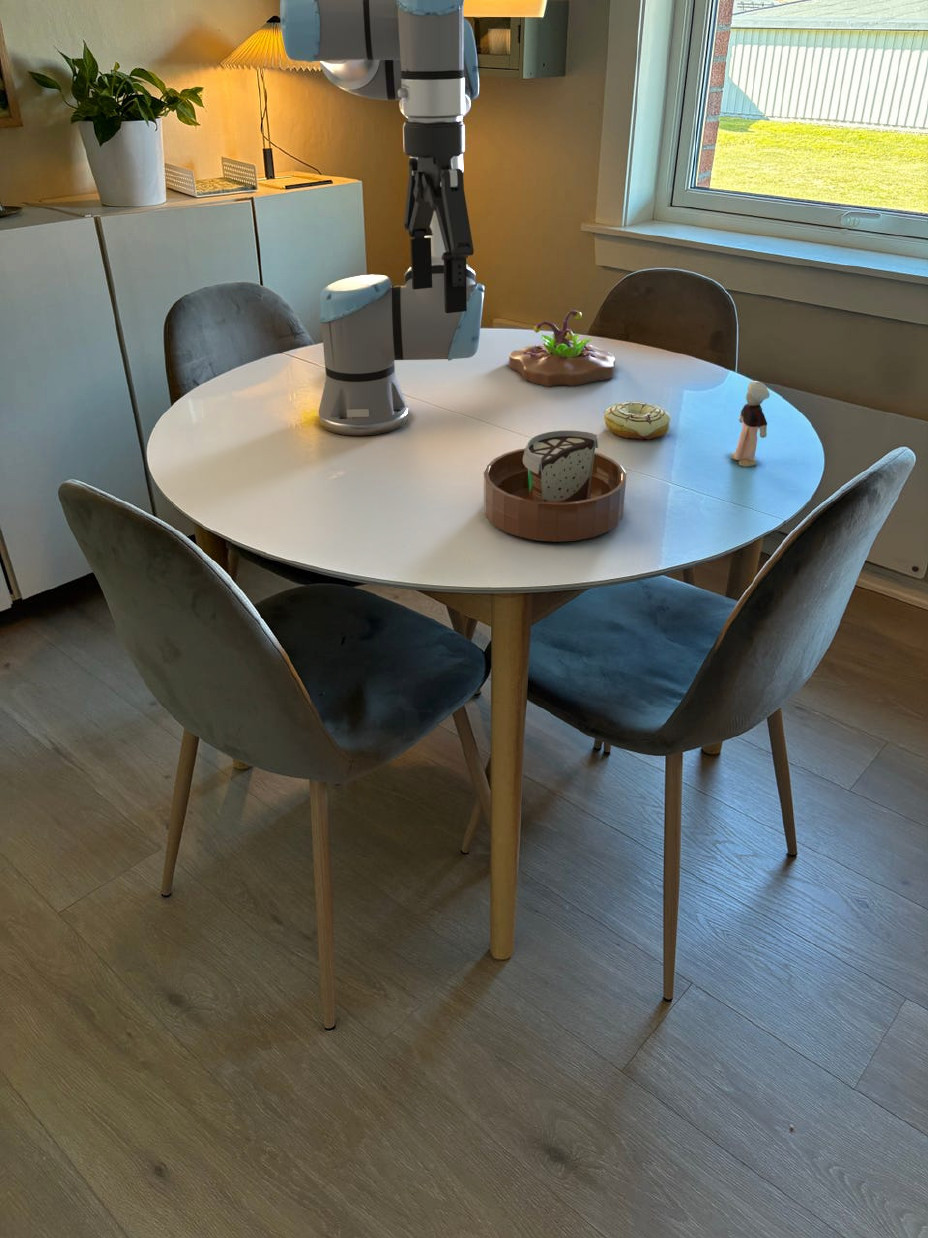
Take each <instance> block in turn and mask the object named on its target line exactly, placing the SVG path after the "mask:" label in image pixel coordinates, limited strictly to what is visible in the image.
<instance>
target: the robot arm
mask: <svg viewBox="0 0 928 1238" xmlns="http://www.w3.org/2000/svg"><path fill="white" fill-rule="evenodd" d="M279 3H280V4H279V17H280V28H281V29H280V30H281V36H282V42H283V43H282V44H283V47H284V52H285V54H286V57H288V58H289V59H290V60H291V61H295V62H307V63H313V62H314V63H315V62H318V63H319V66H320V69H321V70H322V73H323V74H324V76H325V77H326V78H327V79H328V81H330V82H331V84H333V85H334V86H336V87H337V88H339V89H341V90H343V91H345V92H348V93H350V94H353V95H356V96H358V97H363V98H366V99H371V100H376V101H377V100H379V101H399V105H398V106H399V111H400V112H401V113H402V115H403V116H404V117H405V118H407V120H406V121H404V123H403V124H402V139H403V152H404V155H406V156H407V157H409V159H408V182H407V192H406V203H405V212H404V221H403V228H404V230H405V231H407V234H408V237H409V238H410V239H409V240H410V241H409V242H410V244H409V245H410V264H411V266H410V267H409V268H408V269H407V271H405V273H404V285H392V281H391V279H390V277H389V276H387V275H383V274H363V275H357V276H352V277H347V278H344V279H340V280H337V281H335V282H333V283H331V284H329V285H327V286H326V287H324V288H323V290H322V291H321V292H320V295H319V318H318V319H319V322H320V326H321V335H322V346H323V347H322V348H323V359H324V368H325V382H324V386H323V391H322V394H321V399H320V403H319V408H318V421H319V424H320V427H322V428H323V429H325V430H326V431H329V432H331V433H335V434H340V435H344V436H372V435H379V434H384V433H388V432H392V431H395V430H397V429H399V428H401V427H402V426H404V425H405V424H406V423H407V422H408V420H409V408H408V407H409V406H408V404H407V402H406V399H405V397H404V396H405V395H404V393H403V391H402V388H401V387H400V384H399V381H398V378H397V376H396V375H397V374H396V366H395V364H396V363H395V361H430V360H431V361H432V360H436V361H437V360H447V361H453V360H458V359H459V360H461V359H469V358H472V357H473V356H475V355H476V354H477V353H478V350H479V343H480V336H481V335H480V334H481V328H482V327H481V326H482V317H483V310H484V309H483V308H484V307H483V306H484V297H485V286H484V284H481V283H480V282H476V272H475V270H473V269H472V267H470V266H469V265H468V264H467V259H468V257H471V256H473V255H474V253H475V249H474V244H473V238H472V231H471V225H470V220H469V214H468V213H469V212H468V206H467V199H466V193H465V185H464V184H465V183H464V182H465V181H464V153H465V151H466V134H465V133H466V127H465V125H466V124H465V123H464V121H463V118H464V117H465V116H466V115H468V113H469V111H470V109H471V107H472V105H471V104H472V103H471V101H473V100H475V99H477V98H478V97H479V93H480V77H479V68H478V55H477V46H476V39H475V35H474V31H473V28H472V25H471V23H470V21H469V20H468V19H467V18H465V17H464V4H465V0H280V2H279Z"/></svg>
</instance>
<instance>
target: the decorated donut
mask: <svg viewBox="0 0 928 1238" xmlns="http://www.w3.org/2000/svg"><path fill="white" fill-rule="evenodd" d="M603 420H604V422H605V426H606V427H607V429H608V430H609V432H611V433H613V434H614V435H617V436H618V437H621V438H622V437H623V438H624V439H639V440H644V439H646V440H651V439H655V438H659V437H660V436H664V435H666V434H667V433H668V431H669V428H670V421H671V415H670V414H669V412H667V410H665V409H664V408H663V407H662V406H659V405H656V404H651V403H648V402H643V401H623V402H617V403H615V404H612V405H610V407H608V408H607V409H606V410H605V412H604V416H603Z"/></svg>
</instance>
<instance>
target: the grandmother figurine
mask: <svg viewBox="0 0 928 1238" xmlns="http://www.w3.org/2000/svg"><path fill="white" fill-rule="evenodd" d="M745 395H746V396H745V400H746V404H744V405H743V407H742V409H741V411H740V415H739V419H738V421H739V423H741V424H742V427H741V428H742V429H741V432H740V435H739V439H738V441H737V445H736V448H735V452H733V453H732V454H731V455H730V458H731V459H732V460H734V461H738V464H739V465H740V466H741V467H745V468H748V467H754V466H756V465H757V464H758V463H757V460H755V456H756V451H757V444H758V431H759V437H760V438H761V439H764V438H766V437H767V430H768V429H767V426H768V422H767V419H766V416H765V414H764V412H763V408H762V403H763V402H764V401H765V400H767V399H769V398H770V395H771V394H770V391H769V390H768V387H767V386H766V384H765V383H763V382H761V381H757V380H752V381H751V382H749V383H748V385H747V392H746V394H745Z"/></svg>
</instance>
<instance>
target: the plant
mask: <svg viewBox="0 0 928 1238" xmlns="http://www.w3.org/2000/svg"><path fill="white" fill-rule="evenodd" d="M572 315H573V318H574V319H575V320H580V319H581V318H582V312H580V310H576V309H575V310H574V309H573V310H569V312H568V313H567V314H566V315H565V317H564V320H563V321H562V327H561V329H559V328H558V327H557V326H556V324H554V323H552V322H550V321H547V320H546V321H545V320H544V321H542V322H540V323H537V324H536V325H535V326H534V327H533V332H535V333H537V334H538V333H539V332H540V331H541V329H542V326H548V327H550V328H551V331H552V332H553V333H552V335H551V336H552V338H551V337H550V336H548V335H545V334H541V335H540V338H542V340H543V341H544V343H542V345H541V344H539V345H536V344H535V345H532V346H525V347H523V348H522V349H519V350H513V351H511V352H510V353H509V356H508V358H509V360H508V366H509V367H510V368H511V369H512V370H514V371H516V372H517V373H519V374H520V375H521V376H522V378H523V380H524V381H527V382H529V383H532V384H536V385H540V386H545V387H548V388H549V387H553V386H569V387H571V386H572V387H573V386H579V385H585V384H589V383H594V382H599V381H605V380H610V379H613V376H614V372H615V369H616V368H615V367H616V359H615V357H614V356H613V355H612V354H611V353H610V352H609V351H607V350H605V349H600V348H598V347H596V346H594V345H592V344H589V342H590V341H591V340H592V339H591V338H585V339H582V340H580V341H578V340H579V337H580V335H579V333H576V334H574V333H573V331H572V329H571V328H568V325H569V320H570V317H571V316H572Z"/></svg>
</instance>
